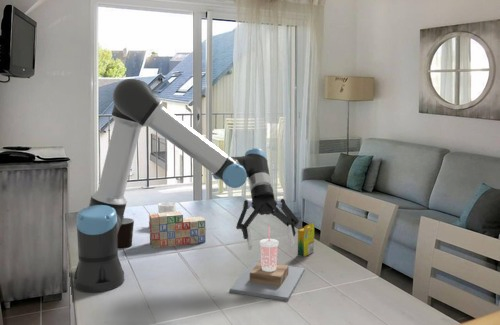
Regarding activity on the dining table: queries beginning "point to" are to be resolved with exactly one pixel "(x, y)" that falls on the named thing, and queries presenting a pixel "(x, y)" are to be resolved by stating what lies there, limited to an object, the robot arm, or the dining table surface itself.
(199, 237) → the stack of blocks
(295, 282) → the base board
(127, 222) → the coffee mug
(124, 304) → the dining table surface
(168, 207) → the white cup
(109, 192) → the robot arm
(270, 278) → the walnut pedestal
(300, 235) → the crayon box
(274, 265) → the beverage cup
